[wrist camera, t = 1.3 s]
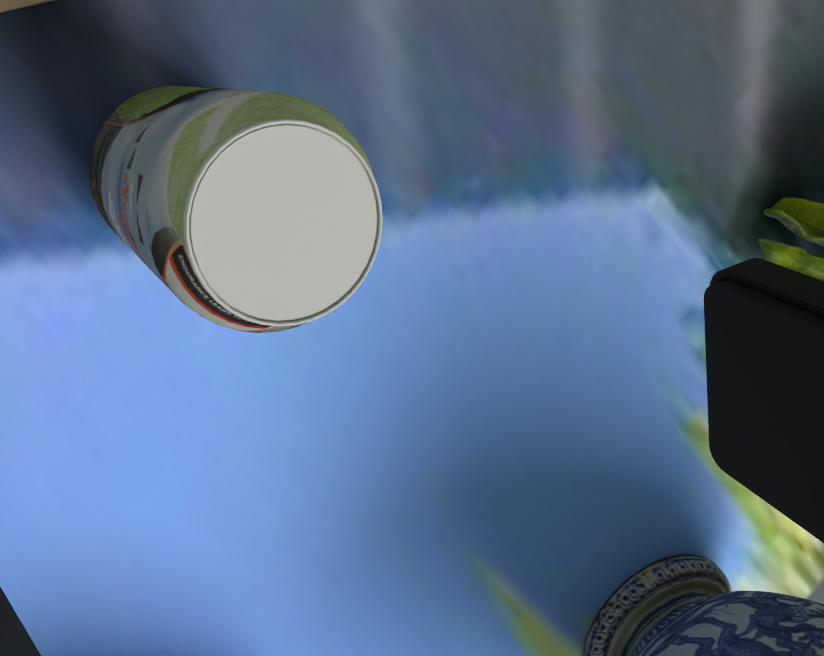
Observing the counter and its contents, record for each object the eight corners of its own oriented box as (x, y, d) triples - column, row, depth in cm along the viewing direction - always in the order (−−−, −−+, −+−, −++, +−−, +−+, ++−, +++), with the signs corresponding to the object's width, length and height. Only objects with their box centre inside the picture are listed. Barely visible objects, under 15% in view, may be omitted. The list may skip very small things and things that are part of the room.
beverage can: (49, 160, 26) (25, 263, 16) (212, 19, 26) (292, 31, 16) (181, 286, 29) (231, 438, 19) (325, 159, 30) (451, 242, 19)
